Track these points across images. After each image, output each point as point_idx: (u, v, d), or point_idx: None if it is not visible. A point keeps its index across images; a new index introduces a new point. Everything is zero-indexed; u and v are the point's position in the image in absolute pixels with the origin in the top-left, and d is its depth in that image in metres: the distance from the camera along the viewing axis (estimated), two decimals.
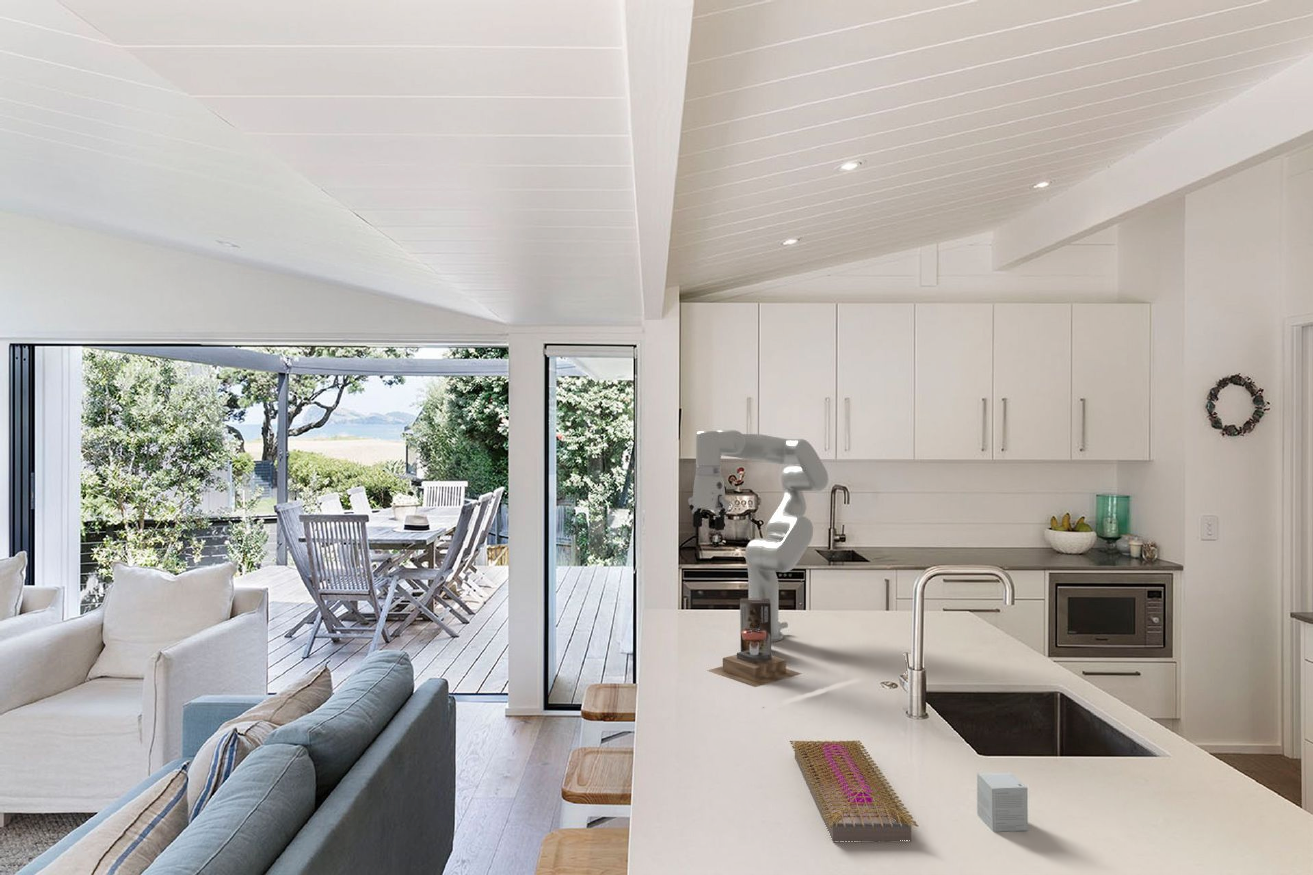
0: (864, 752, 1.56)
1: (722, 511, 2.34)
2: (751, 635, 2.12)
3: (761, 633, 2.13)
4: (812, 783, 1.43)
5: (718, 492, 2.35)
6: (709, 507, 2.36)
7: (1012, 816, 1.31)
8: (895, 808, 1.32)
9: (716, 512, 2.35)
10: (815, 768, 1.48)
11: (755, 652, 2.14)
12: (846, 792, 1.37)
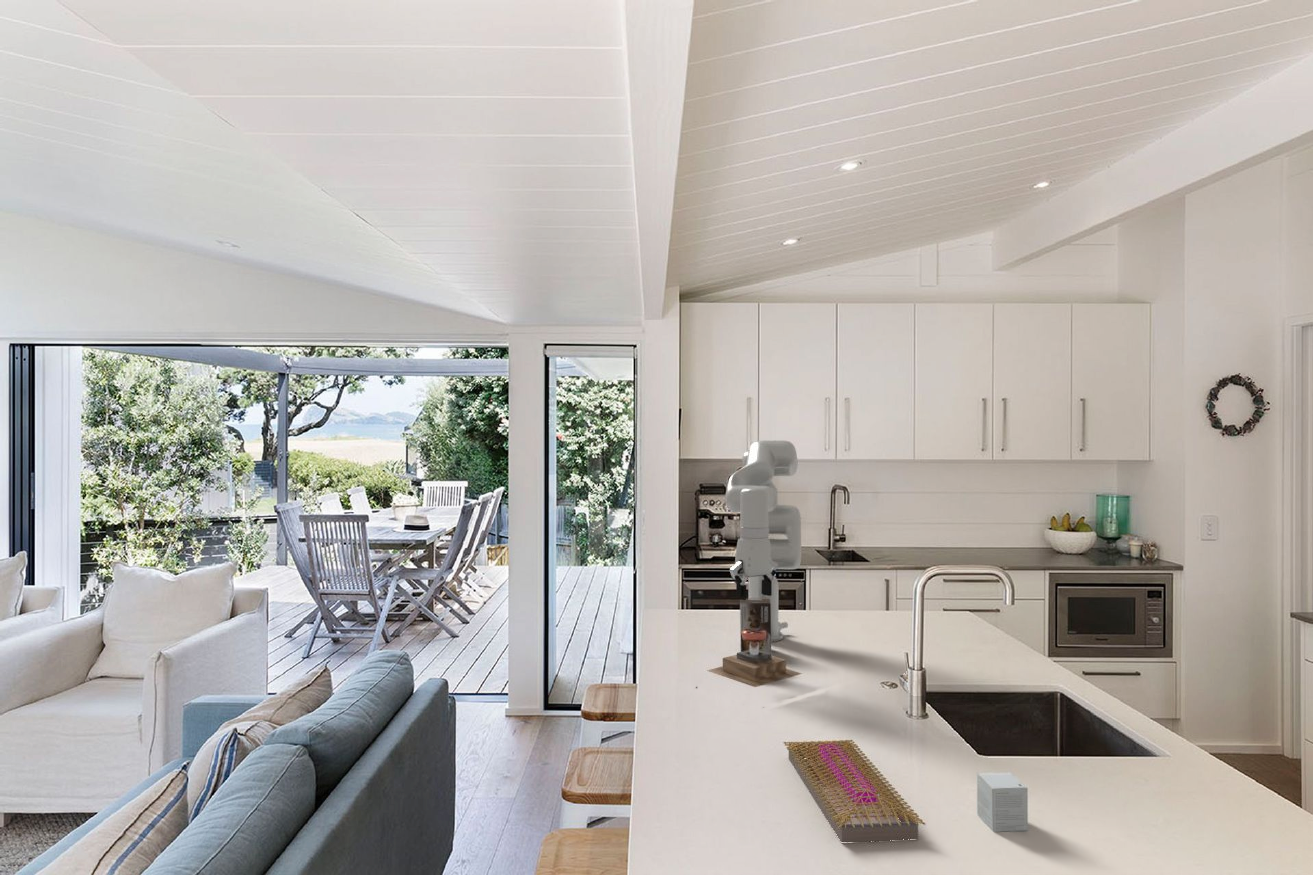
0: None
1: (774, 573, 2.19)
2: (751, 635, 2.12)
3: (761, 633, 2.13)
4: (814, 784, 1.42)
5: None
6: (766, 572, 2.15)
7: (1012, 816, 1.31)
8: (900, 807, 1.32)
9: (770, 576, 2.17)
10: (814, 769, 1.48)
11: (755, 652, 2.14)
12: (850, 792, 1.37)
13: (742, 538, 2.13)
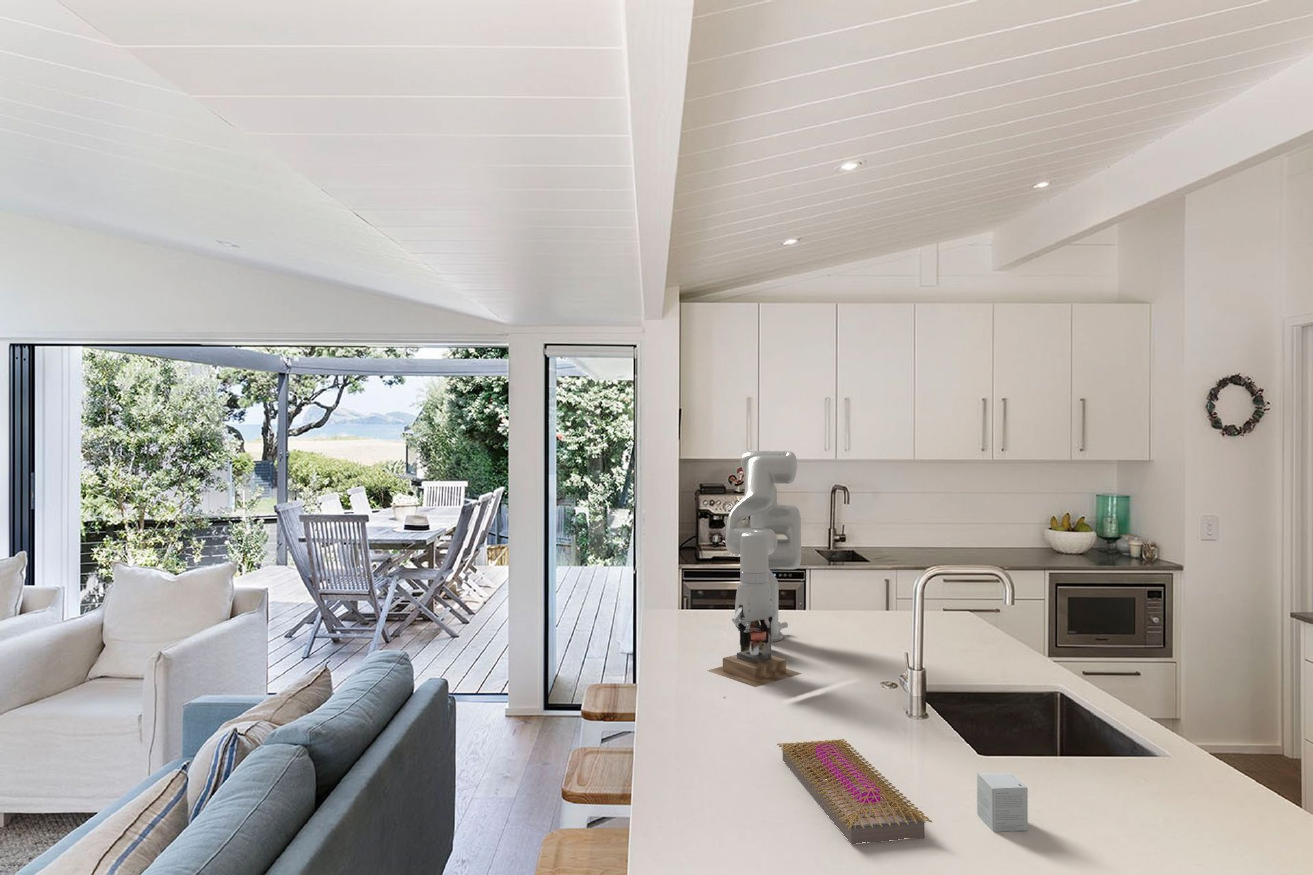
0: None
1: (770, 620, 2.18)
2: (751, 635, 2.12)
3: (761, 633, 2.13)
4: (815, 786, 1.42)
5: None
6: (766, 616, 2.15)
7: (1012, 816, 1.31)
8: (905, 805, 1.33)
9: (767, 622, 2.17)
10: (813, 770, 1.47)
11: (755, 652, 2.14)
12: (853, 793, 1.37)
13: (742, 583, 2.13)
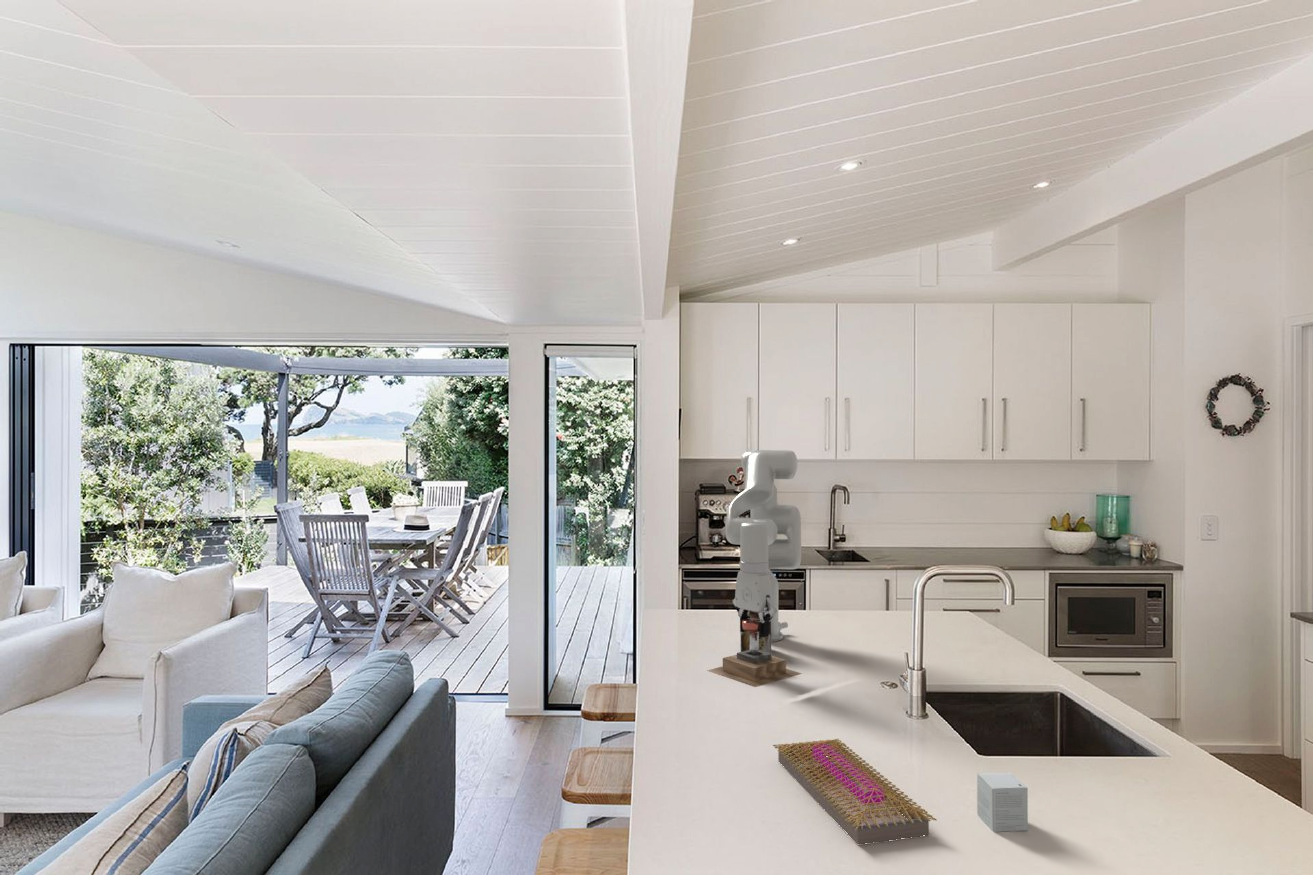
0: (848, 750, 1.57)
1: None
2: None
3: None
4: (817, 787, 1.41)
5: None
6: None
7: (1012, 816, 1.31)
8: (908, 804, 1.33)
9: None
10: (813, 771, 1.47)
11: None
12: (856, 793, 1.37)
13: (761, 574, 2.12)
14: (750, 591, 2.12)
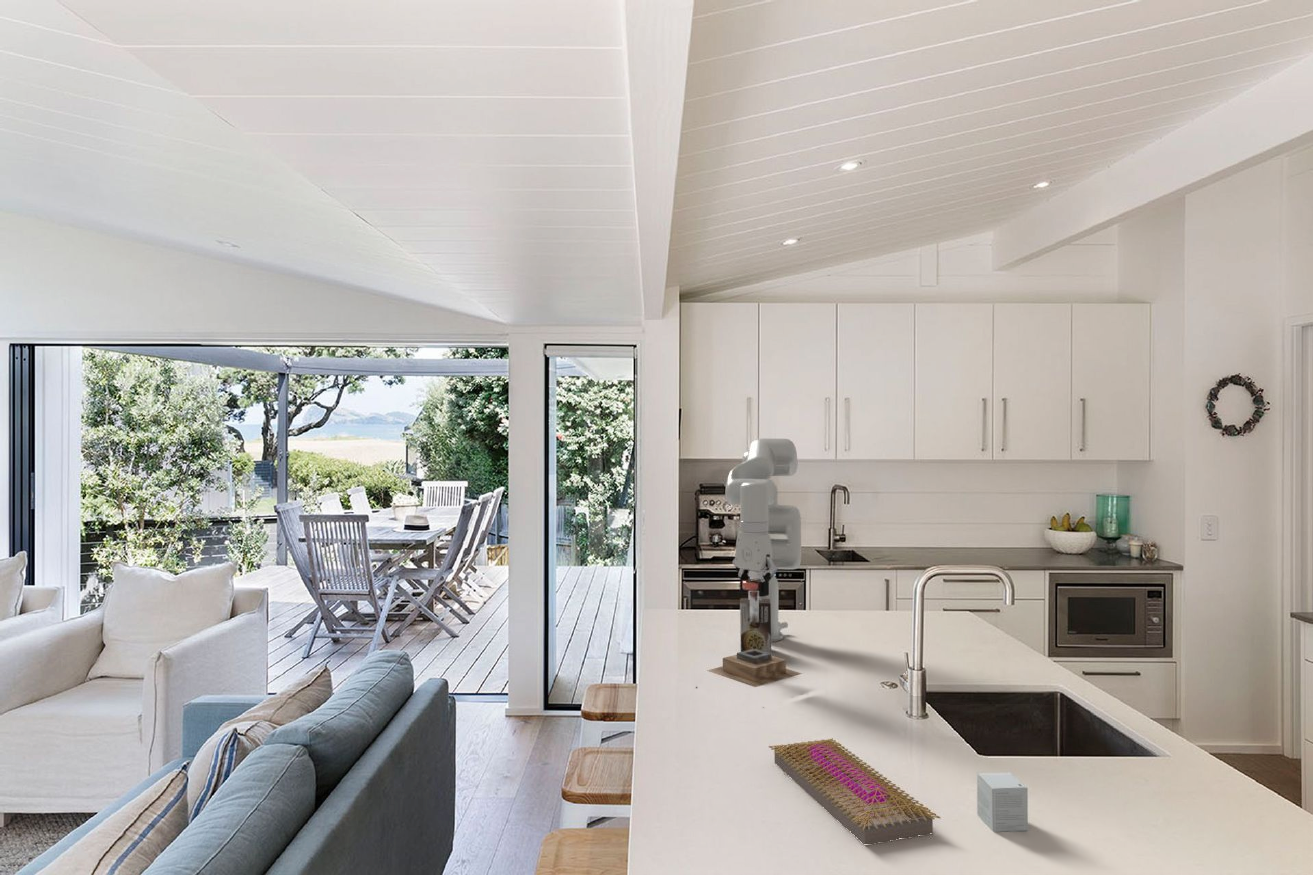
0: None
1: None
2: None
3: None
4: (818, 787, 1.41)
5: None
6: None
7: (1012, 816, 1.31)
8: (911, 803, 1.34)
9: None
10: (812, 772, 1.47)
11: None
12: (858, 793, 1.37)
13: (762, 533, 2.12)
14: (750, 550, 2.12)
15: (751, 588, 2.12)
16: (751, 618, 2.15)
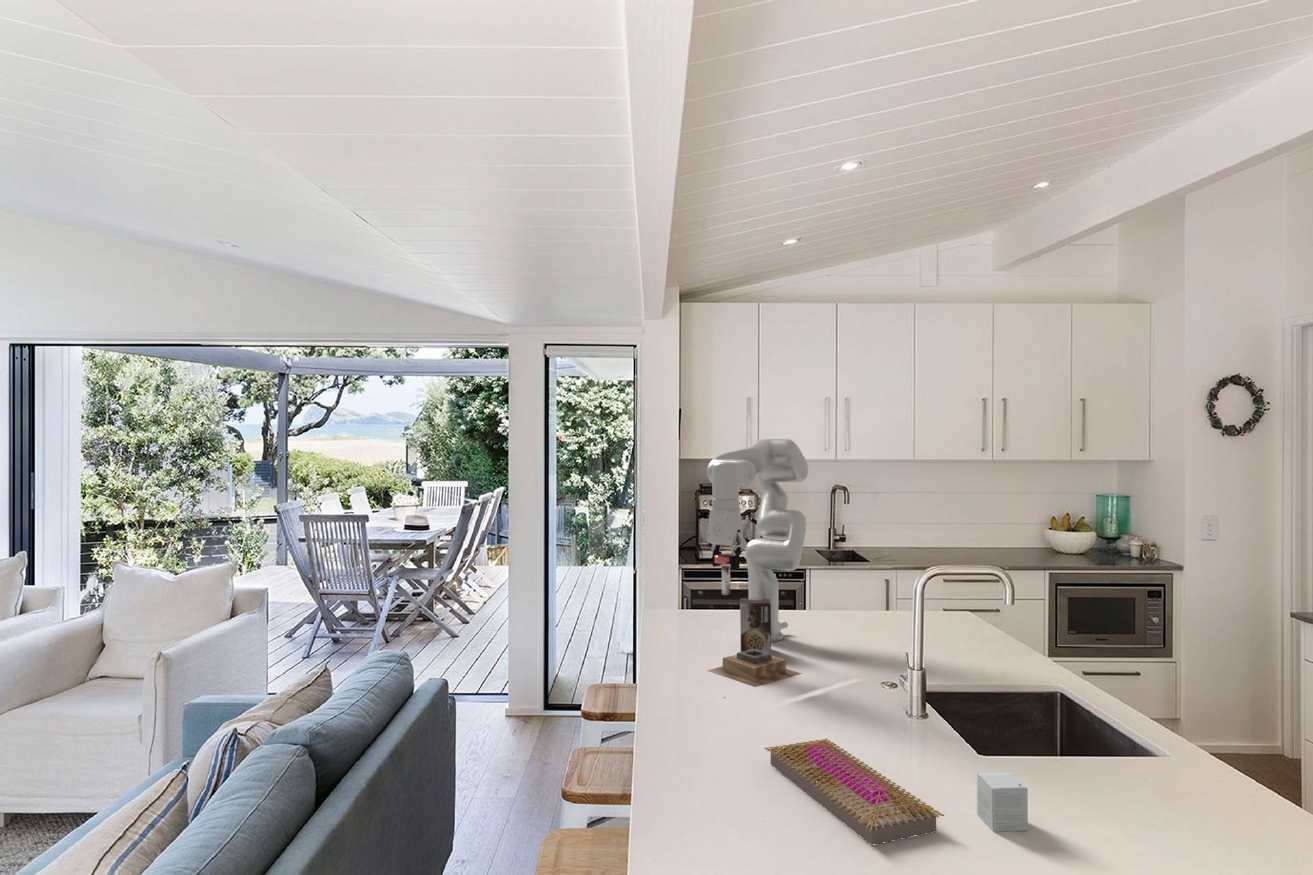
0: None
1: None
2: None
3: None
4: (820, 788, 1.40)
5: None
6: None
7: (1012, 816, 1.31)
8: (914, 801, 1.34)
9: None
10: (812, 772, 1.46)
11: None
12: (861, 793, 1.37)
13: (732, 510, 2.24)
14: (722, 526, 2.25)
15: (723, 562, 2.25)
16: (723, 590, 2.27)
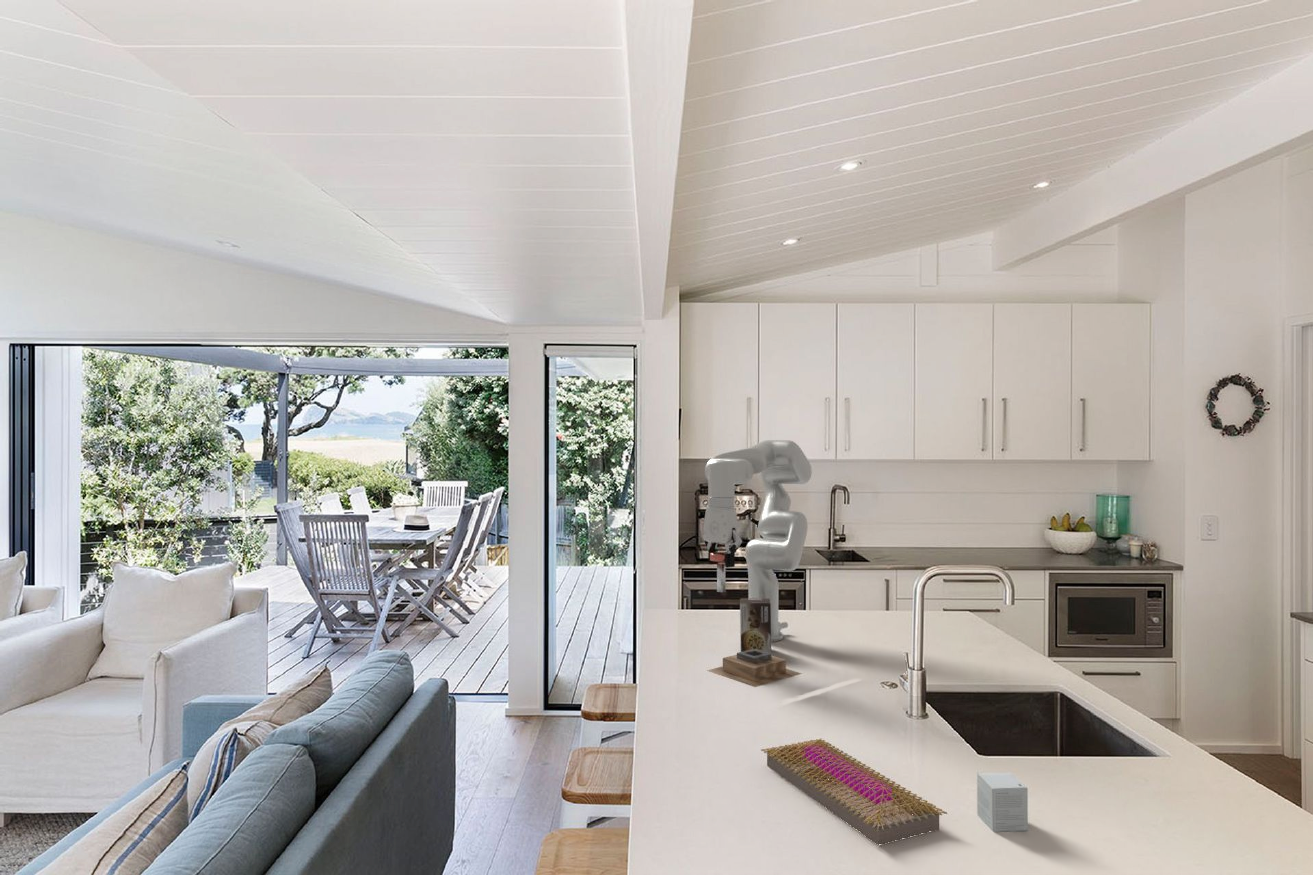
0: (835, 749, 1.58)
1: None
2: None
3: None
4: (822, 789, 1.40)
5: None
6: None
7: (1012, 816, 1.31)
8: (917, 800, 1.35)
9: None
10: (812, 773, 1.46)
11: None
12: (864, 792, 1.37)
13: (728, 508, 2.26)
14: (717, 524, 2.27)
15: (718, 559, 2.26)
16: (718, 588, 2.29)
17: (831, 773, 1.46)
